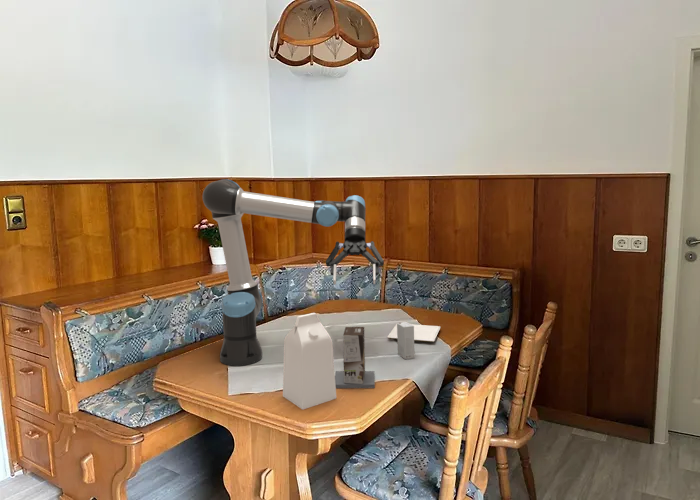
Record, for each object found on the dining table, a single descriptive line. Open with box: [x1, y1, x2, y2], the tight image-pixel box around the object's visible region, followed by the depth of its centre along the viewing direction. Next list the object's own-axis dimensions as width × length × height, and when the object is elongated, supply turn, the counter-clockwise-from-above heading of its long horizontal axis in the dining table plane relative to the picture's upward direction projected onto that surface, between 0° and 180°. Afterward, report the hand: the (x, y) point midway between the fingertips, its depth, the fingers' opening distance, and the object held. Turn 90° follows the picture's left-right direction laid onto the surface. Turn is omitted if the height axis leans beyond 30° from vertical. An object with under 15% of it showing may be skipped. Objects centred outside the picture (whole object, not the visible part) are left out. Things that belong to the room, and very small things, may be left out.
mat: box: [335, 370, 376, 389], centre depth 178 cm, size 11×13×1 cm
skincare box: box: [396, 321, 416, 360], centre depth 198 cm, size 6×4×12 cm
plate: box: [386, 323, 441, 343], centre depth 221 cm, size 19×19×2 cm
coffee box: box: [342, 326, 366, 384], centre depth 176 cm, size 9×6×16 cm
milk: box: [282, 312, 337, 410], centre depth 164 cm, size 12×12×26 cm
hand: (354, 282), depth 187 cm, fingers open, 13 cm apart
